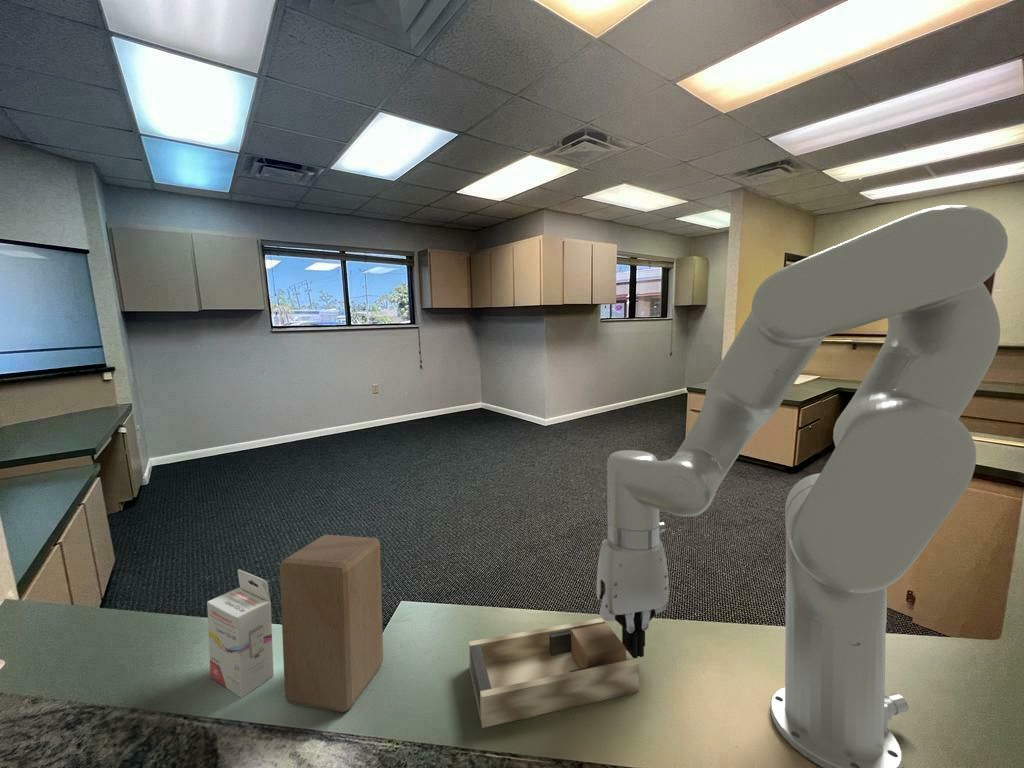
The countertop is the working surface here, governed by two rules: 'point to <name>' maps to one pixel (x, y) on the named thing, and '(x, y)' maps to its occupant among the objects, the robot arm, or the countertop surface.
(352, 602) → the block
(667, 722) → the countertop surface
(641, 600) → the robot arm
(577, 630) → the block
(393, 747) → the countertop surface
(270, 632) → the ink cartridge box
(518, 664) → the chute
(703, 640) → the countertop surface
